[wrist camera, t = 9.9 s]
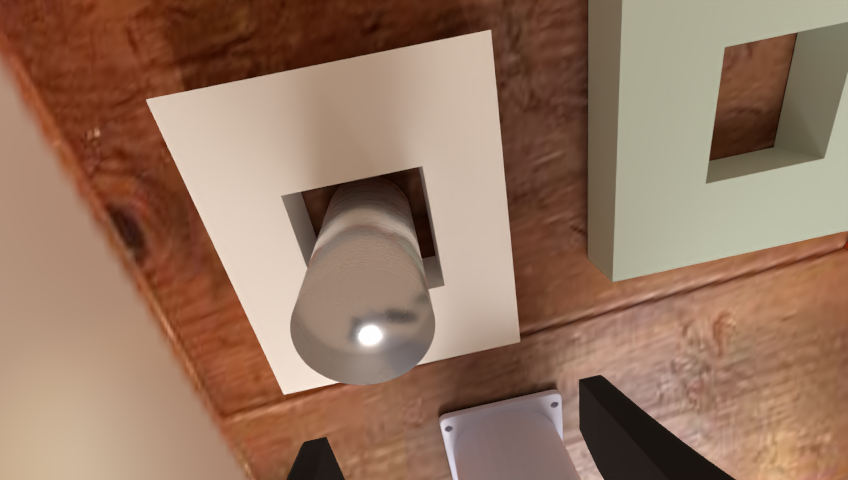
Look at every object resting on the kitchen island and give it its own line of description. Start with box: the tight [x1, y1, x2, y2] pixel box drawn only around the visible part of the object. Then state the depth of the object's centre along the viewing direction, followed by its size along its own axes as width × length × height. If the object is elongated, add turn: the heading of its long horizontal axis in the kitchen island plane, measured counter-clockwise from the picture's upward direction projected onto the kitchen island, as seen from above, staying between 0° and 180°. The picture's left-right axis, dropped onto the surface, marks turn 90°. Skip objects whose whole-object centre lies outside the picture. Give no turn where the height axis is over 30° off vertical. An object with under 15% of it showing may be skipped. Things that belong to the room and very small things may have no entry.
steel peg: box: [290, 176, 435, 385], centre depth 15 cm, size 4×4×9 cm
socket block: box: [588, 0, 848, 282], centre depth 18 cm, size 14×14×2 cm
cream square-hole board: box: [146, 30, 520, 395], centre depth 18 cm, size 14×12×3 cm
